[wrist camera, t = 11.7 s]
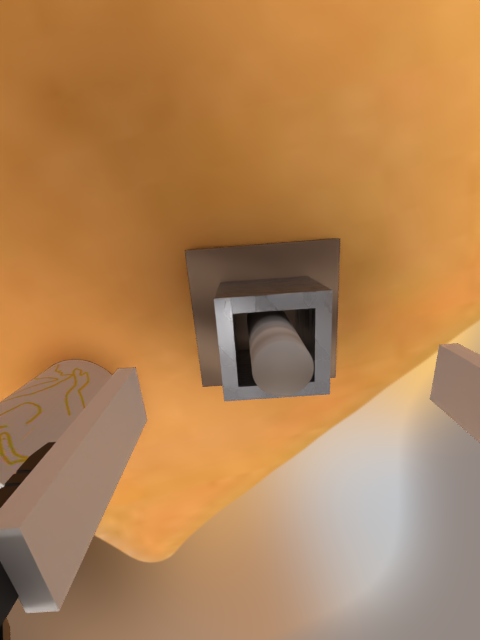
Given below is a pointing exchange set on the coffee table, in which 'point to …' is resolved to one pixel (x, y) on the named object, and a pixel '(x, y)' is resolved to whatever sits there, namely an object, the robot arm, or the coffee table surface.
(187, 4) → the coffee table surface
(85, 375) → the gold-veined taupe cylinder
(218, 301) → the collar
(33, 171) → the coffee table surface
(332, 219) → the coffee table surface
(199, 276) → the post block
